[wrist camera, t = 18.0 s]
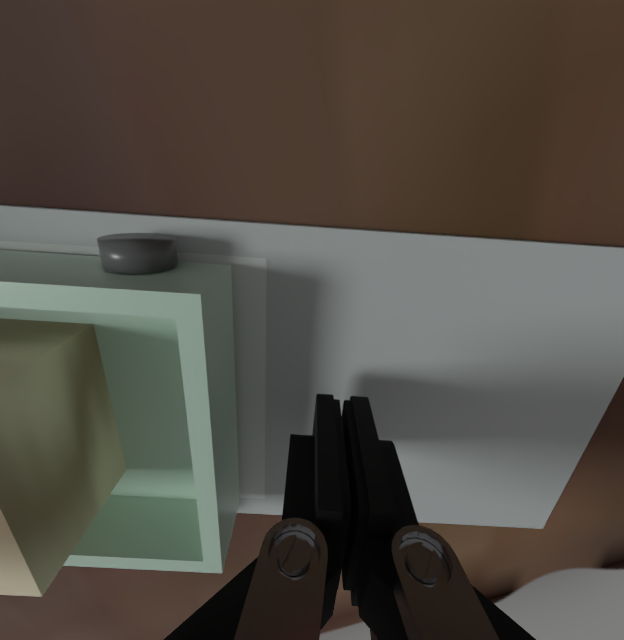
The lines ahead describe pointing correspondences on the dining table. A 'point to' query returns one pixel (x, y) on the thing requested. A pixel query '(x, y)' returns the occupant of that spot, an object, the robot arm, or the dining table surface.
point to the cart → (150, 392)
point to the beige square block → (51, 447)
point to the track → (401, 348)
